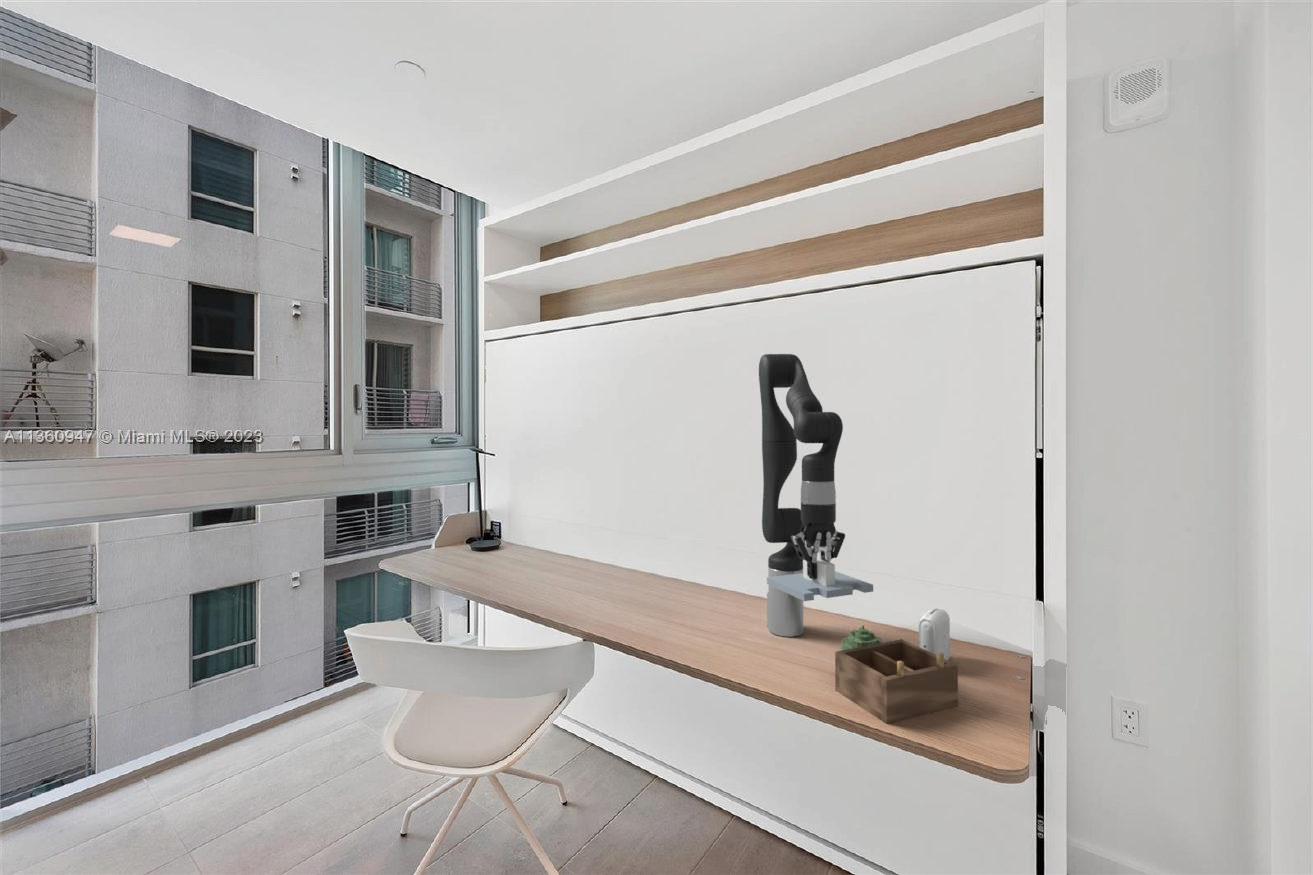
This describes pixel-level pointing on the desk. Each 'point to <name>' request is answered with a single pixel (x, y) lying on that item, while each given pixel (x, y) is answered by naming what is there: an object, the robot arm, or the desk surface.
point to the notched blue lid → (819, 583)
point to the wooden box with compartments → (896, 680)
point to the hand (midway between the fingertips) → (818, 577)
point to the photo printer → (935, 632)
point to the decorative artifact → (859, 639)
